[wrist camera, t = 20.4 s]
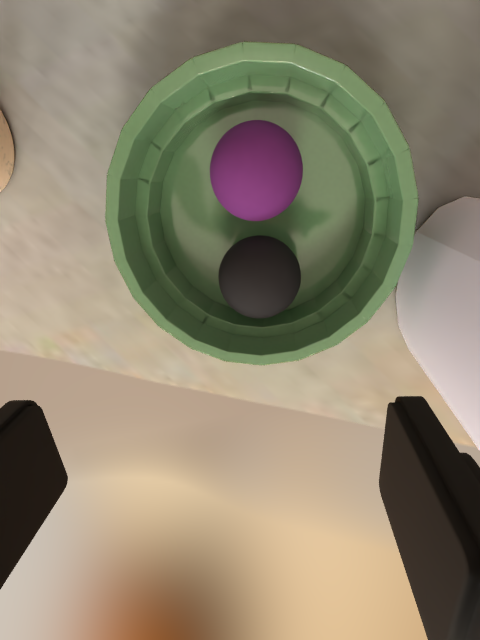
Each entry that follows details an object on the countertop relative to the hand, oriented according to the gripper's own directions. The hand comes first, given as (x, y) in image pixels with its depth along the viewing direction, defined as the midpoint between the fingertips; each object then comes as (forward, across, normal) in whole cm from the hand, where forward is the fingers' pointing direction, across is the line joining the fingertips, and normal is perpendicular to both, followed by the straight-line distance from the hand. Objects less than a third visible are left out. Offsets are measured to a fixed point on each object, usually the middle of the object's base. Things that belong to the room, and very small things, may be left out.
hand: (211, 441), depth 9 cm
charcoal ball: (+18, -1, 0) cm, 18 cm away
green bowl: (+19, -1, -3) cm, 19 cm away
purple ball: (+18, -1, -6) cm, 19 cm away
